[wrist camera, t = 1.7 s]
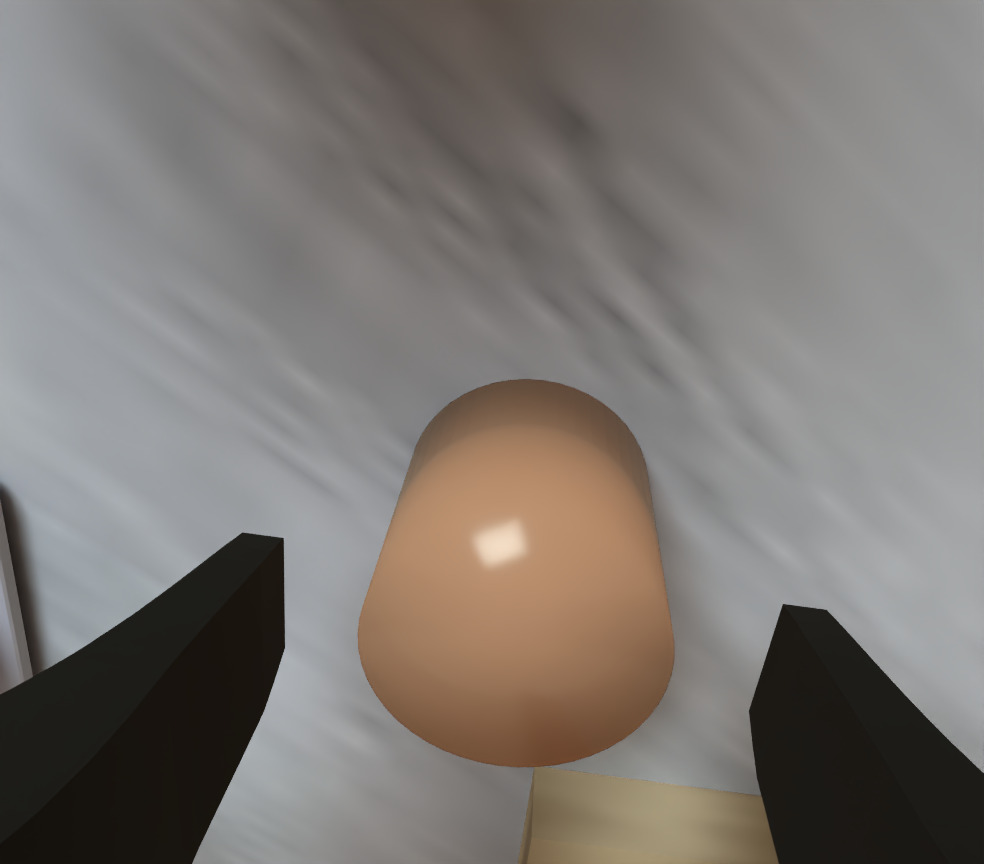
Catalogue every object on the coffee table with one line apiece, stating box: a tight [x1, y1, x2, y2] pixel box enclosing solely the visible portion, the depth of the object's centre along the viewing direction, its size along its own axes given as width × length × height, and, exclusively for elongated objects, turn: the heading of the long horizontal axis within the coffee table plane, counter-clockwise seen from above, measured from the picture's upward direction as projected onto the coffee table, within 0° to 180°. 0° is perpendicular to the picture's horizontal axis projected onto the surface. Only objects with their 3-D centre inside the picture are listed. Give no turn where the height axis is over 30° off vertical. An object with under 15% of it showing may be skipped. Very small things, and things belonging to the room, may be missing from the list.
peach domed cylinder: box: [358, 379, 674, 767], centre depth 14 cm, size 4×4×4 cm
